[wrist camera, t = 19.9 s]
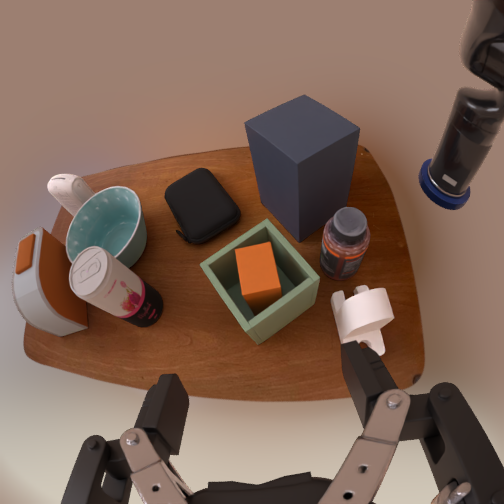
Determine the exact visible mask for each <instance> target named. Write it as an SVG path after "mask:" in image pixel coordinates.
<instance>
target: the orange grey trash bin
mask: <svg viewBox="0 0 504 504" xmlns="http://www.w3.org/2000/svg"><path fill="white" fill-rule="evenodd" d="M71 266H72V263H71V262H70V260H69V258H68V255H67V252H66V246H65V245H63V244H62V243H61V242H60V241H58V240H57V239H56V238H55V237H53V236H52V235H51V234H49V233H48V232H47V231H46V230H45V229H44V228H42V227H38V228H36V229H35V230H33V231H32V232H30V233H29V234H27V235H26V236H24V237H23V238H22V239H21V240H20V242H19V243H18V245H17V249H16V254H15V261H14V268H13V277H12V293H13V298H14V302H15V304H16V306H17V309H18V311H19V312H20V314H21V315H22V317H23V318H24V319H25V320H26V321H27V322H28V323H29V324H30V325H32V326H33V327H35V328H37V329H40V330H43V331H45V332H48V333H51V334H53V335H56V336H59V337H61V336H65V335H68V334H71V333H74V332H77V331H80V330H84V329H87V328H88V319H87V306H86V301H85V300H83V299H81V298H79V297H78V296H77V295H76V294H75V293H74V292H73V291H72V289H71V287H70V283H69V273H70V269H71Z"/></svg>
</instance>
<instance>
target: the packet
mask: <svg viewBox="0 0 504 504" xmlns="http://www.w3.org/2000/svg"><path fill="white" fill-rule="evenodd" d="M235 254H236V260H237V266H238V273H239V279H240V285H241V291H242V295H243V297H244V299H245V300H246V302H247V304H248V306H249V307H250V309H251V311H252V312H253V314H254V316H257V315H258V314H260V313H261V312H262V311H264V310H265V309H267V308H268V307H269V306H271V305H272V304H274V303H275V302H276V301H278V300H279V299H280V298H282V291H281V285H280V281H279V276H278V272H277V268H276V263H275V259H274V254H273V250H272V246H271V242H266V243H262V244H257V245H253V246H248V247H244V248H239V249H235Z"/></svg>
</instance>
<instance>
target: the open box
mask: <svg viewBox="0 0 504 504" xmlns="http://www.w3.org/2000/svg"><path fill="white" fill-rule="evenodd" d="M266 242H271V246H272V250H273V254H274V259H275V263H276V268H277V272H278V276H279V281H280V285H281V291H282V298H280V299H279V300H278V301H276V302H275V303H274V304H272V305H271V306H269V307H268V308H267V309H265V310H264V311H262V312H261V313H260V314H258V315H257V316H254V314H253V312H252V311H251V309H250V307H249V306H248V304H247V302H246V300H245V299H244V297H243V295H242V291H241V285H240V279H239V273H238V266H237V260H236V254H235V249H239V248H244V247H248V246H253V245H257V244H262V243H266ZM200 266H201V268H202V269H203V271H204V272H205V274H206V275H207V277H208V278H209V280H210V281H211V283H212V284H213V286H214V287H215V289H216V290H217V292H218V293H219V295H220V296H221V298H222V299H223V300H224V302H225V303H226V305H227V306H228V308H229V309H230V311H231V312H232V314H233V315H234V316H235V318H236V319H237V321H238V322H239V324H240V325H241V326H242V328H243V329H244V331H245V332H246V333H247V334H248V335H249V336H250V337H251V338H252V339H253V340H254V341H255V342H256V343H257V344H258V345H259V344H261V343H262V342H264V341H265V340H266V339H268V338H269V337H271V336H272V335H273V334H275V333H276V332H278V331H279V330H280V329H282V328H283V327H284V326H286V325H287V324H289V323H290V322H291V321H293V320H294V319H295V318H297V317H298V316H299V315H301V314H302V313H303V312H305V311H306V310H307V309H308V308H310V307H311V306H312V305H314V304H315V300H316V295H317V290H318V285H319V281H320V277H319V276H318V274H317V273H316V272H315V271H314V270H313V269H312V268H311V266H310V265H309V264H308V263H307V262H306V261H305V260H304V259H303V257H302V256H301V255H300V254H299V253H298V252H297V251H296V250H295V249H294V247H293V246H292V245H291V244H290V243H289V242H288V241H287V240H286V239H285V237H284V236H283V235H282V234H281V233H280V232H279V231H278V230H277V229H276V227H275V226H274V225H273V224H272V223H271V222H270V221H269V220H268V219H266V220H264V221H263V222H261V223H260V224H258V225H257V226H255V227H254V228H252V229H251V230H249V231H248V232H246V233H245V234H243V235H242V236H240V237H239V238H237V239H236V240H234V241H233V242H231V243H230V244H228V245H227V246H225V247H224V248H222V249H221V250H220V251H218V252H217V253H215V254H214V255H212V256H211V257H209V258H208V259H206V260H205V261H204V262H202V263H201V264H200Z"/></svg>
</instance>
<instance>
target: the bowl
mask: <svg viewBox="0 0 504 504" xmlns="http://www.w3.org/2000/svg"><path fill="white" fill-rule="evenodd" d="M146 241H147V231H146V226H145V221H144V216H143V211H142V207H141V203H140V200H139V198H138V196H137V194H136V193H135V192H134V191H133V190H131V189H129V188H127V187H122V186H115V187H109V188H107V189H104V190H102V191H100V192H98V193H97V194H95V195H94V196H92V197H91V198H90V199H89V200H88V201H86V202H85V203H84V204H83V205H82V207H81V208H80V209H79V210H78V212H77V213H76V215H75V216H74V218H73V220H72V222H71V224H70V227H69V230H68V233H67V238H66V252H67V255H68V258H69V260H70V262H71V263H72V264H73V262H74V260H75V258H76V257H77V256H78V255H79V254H80V253H81V252H82V251H83V250H84V249H86V248H88V247H91V246H98V247H100V248H103V249H105V250H106V251H108V252H109V253H110V254H111V255H112V256H114V257H115V258H116V259H117V260H118V261H120V262H121V263H122V264H123V265H125V266H126V267H127V268H130V267H131V266H132V265H134V264H135V263H136V262H137V260H138V259H139V258H140V256H141V255H142V253H143V251H144V248H145V245H146Z"/></svg>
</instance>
